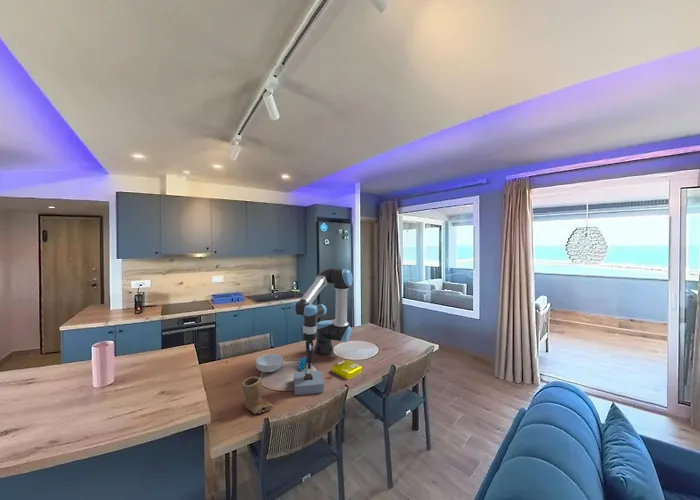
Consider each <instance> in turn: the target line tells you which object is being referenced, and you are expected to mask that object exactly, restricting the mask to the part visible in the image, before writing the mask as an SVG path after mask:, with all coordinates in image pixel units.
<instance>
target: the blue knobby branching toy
mask: <svg viewBox="0 0 700 500" xmlns="http://www.w3.org/2000/svg"><path fill="white" fill-rule="evenodd" d="M298 360H299V361H297V362H296V363H297V365H296V368H297V370H298V369H299V370H298V371H299V372H302V371H305V369H306V355H305V356H302V357H301V358H299V359H298Z"/></svg>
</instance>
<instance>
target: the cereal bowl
mask: <svg viewBox="0 0 700 500" xmlns="http://www.w3.org/2000/svg"><path fill="white" fill-rule="evenodd" d="M283 359H284V358H283V357H282V355H279V354H277V353H266V354H263V355H260V356H258V357H257V358H256V359H255V367H256V369H257V370H258V371H260V372H262V373H266V372H270V373H273V372H276V371H278V370H279V369H280V368H281V367H282V365H283Z"/></svg>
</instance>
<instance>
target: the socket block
mask: <svg viewBox="0 0 700 500" xmlns="http://www.w3.org/2000/svg"><path fill="white" fill-rule="evenodd" d="M323 379H324V378H323V375H322V372H321V370H318V369H317V370H311V378H310V379H306V378H305V371H294V372H293V390H294V396H300V395H313V394H321V393H323V394H324V388H325V383H324V380H323Z"/></svg>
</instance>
